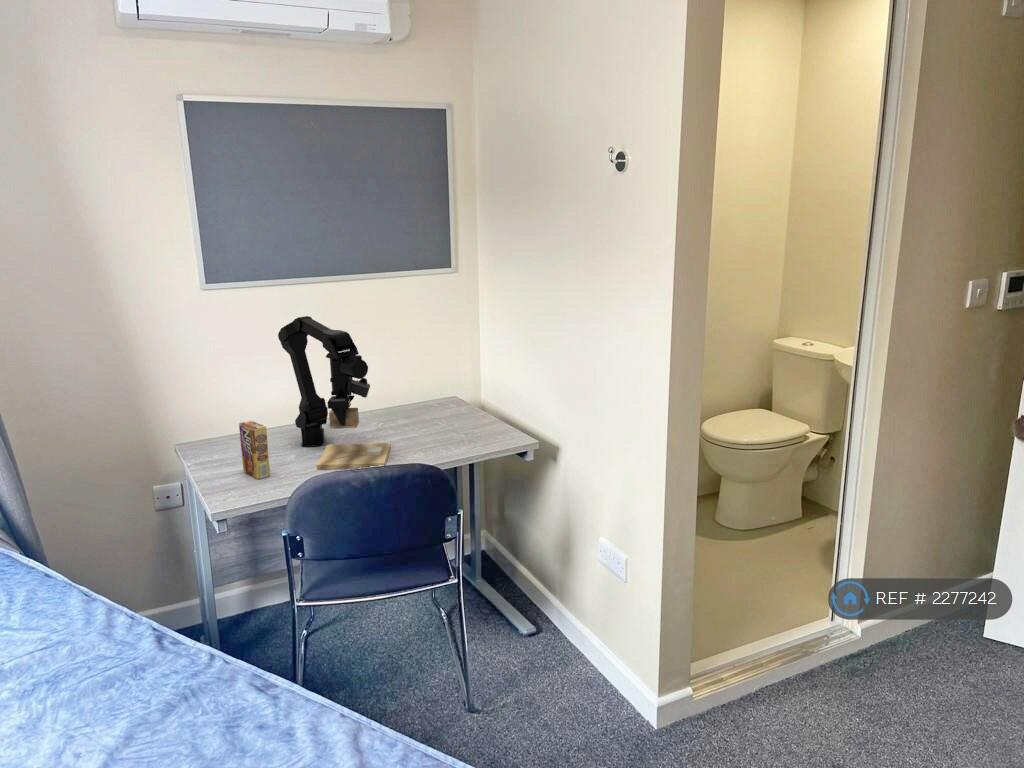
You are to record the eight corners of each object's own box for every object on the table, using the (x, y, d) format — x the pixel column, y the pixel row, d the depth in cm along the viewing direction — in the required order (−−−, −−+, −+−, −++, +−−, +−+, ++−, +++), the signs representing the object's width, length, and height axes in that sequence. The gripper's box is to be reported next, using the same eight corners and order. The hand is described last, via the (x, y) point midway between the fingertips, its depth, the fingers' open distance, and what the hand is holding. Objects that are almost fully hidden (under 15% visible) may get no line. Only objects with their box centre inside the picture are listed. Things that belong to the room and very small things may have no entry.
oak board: (316, 469, 223) (316, 464, 223) (328, 449, 240) (327, 444, 240) (384, 467, 224) (384, 463, 224) (390, 447, 241) (390, 443, 241)
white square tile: (367, 455, 230) (366, 451, 230) (368, 451, 234) (368, 447, 234) (380, 455, 230) (380, 451, 230) (381, 450, 234) (381, 447, 234)
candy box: (271, 475, 219) (266, 426, 215) (258, 479, 216) (253, 429, 212) (256, 468, 225) (251, 419, 221) (243, 472, 222) (237, 423, 218)
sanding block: (330, 428, 229) (328, 413, 227) (333, 423, 233) (332, 408, 232) (356, 428, 229) (355, 412, 228) (359, 423, 234) (357, 407, 232)
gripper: (364, 380, 219) (367, 431, 222) (370, 365, 236) (373, 412, 240) (325, 381, 218) (329, 432, 222) (334, 366, 236) (338, 414, 240)
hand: (344, 422), depth 231 cm, fingers closed on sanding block, 5 cm apart
